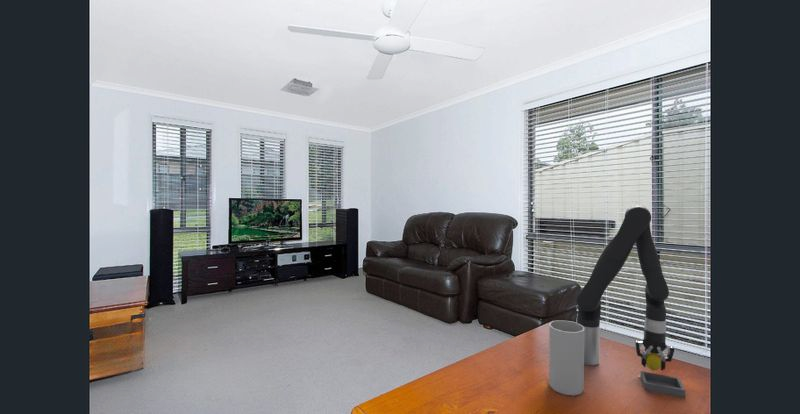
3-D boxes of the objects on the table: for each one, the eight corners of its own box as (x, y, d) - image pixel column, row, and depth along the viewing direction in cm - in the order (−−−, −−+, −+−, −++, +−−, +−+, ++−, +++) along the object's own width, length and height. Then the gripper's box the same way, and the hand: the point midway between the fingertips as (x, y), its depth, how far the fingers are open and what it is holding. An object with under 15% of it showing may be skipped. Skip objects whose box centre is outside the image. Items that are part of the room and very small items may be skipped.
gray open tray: (644, 390, 145) (644, 382, 145) (640, 378, 154) (640, 371, 154) (685, 398, 139) (685, 390, 139) (678, 385, 148) (679, 377, 148)
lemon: (663, 374, 153) (664, 356, 153) (648, 373, 154) (649, 354, 154) (656, 368, 159) (657, 350, 158) (642, 367, 160) (643, 349, 159)
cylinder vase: (568, 400, 139) (569, 334, 138) (542, 384, 150) (542, 323, 149) (590, 391, 145) (591, 328, 143) (563, 376, 156) (563, 318, 155)
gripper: (636, 329, 155) (634, 368, 156) (678, 335, 149) (675, 376, 150) (633, 322, 162) (631, 360, 163) (673, 328, 155) (671, 367, 157)
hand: (652, 367), depth 156 cm, fingers closed on lemon, 5 cm apart
